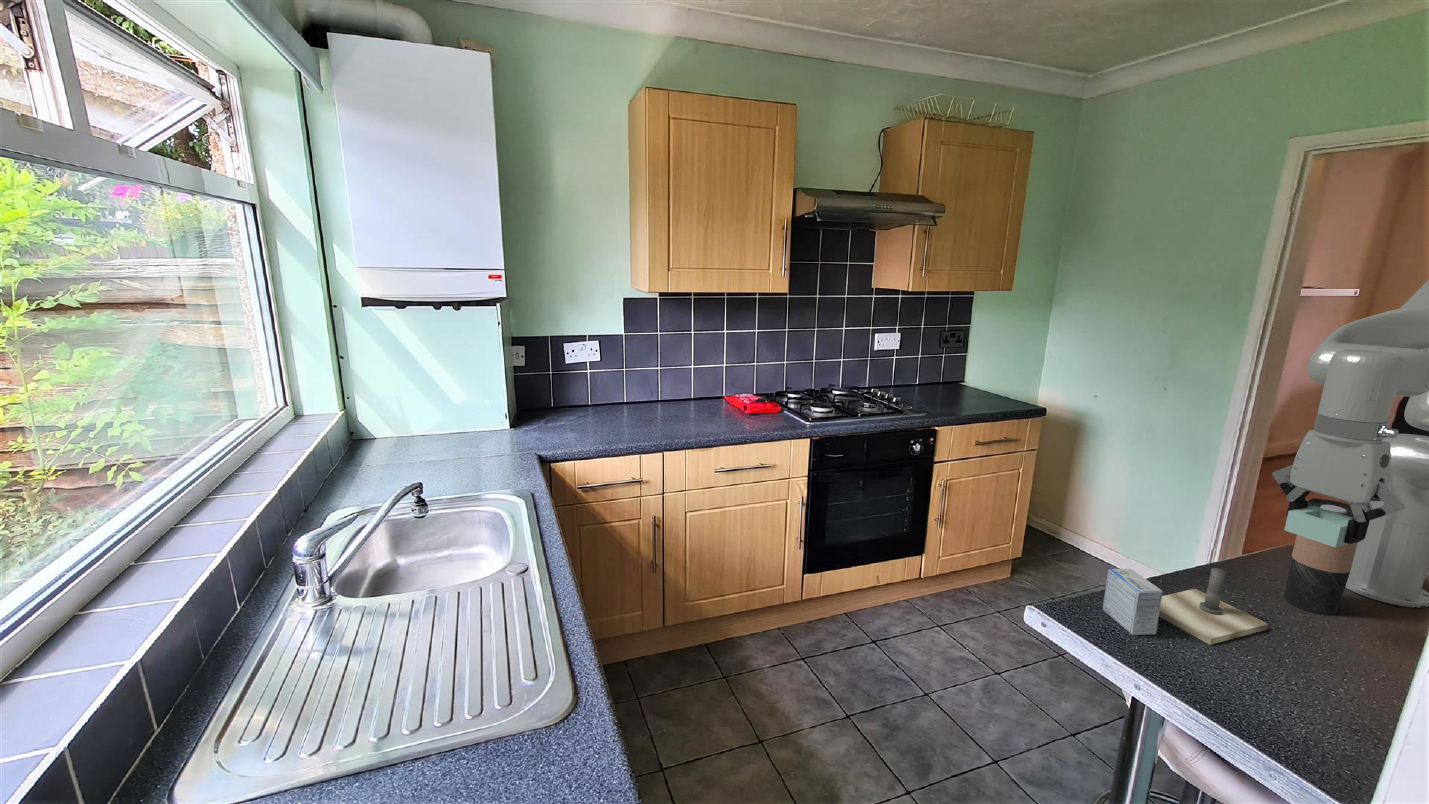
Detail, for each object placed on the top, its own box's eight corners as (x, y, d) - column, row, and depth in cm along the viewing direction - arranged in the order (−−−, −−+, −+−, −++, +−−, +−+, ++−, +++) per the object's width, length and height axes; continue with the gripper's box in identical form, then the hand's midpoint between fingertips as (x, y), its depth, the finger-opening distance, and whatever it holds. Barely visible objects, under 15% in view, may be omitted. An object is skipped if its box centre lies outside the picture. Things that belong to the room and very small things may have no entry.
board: (1194, 593, 112) (1202, 551, 110) (1266, 629, 101) (1277, 582, 99) (1140, 606, 108) (1148, 562, 106) (1209, 644, 97) (1220, 596, 95)
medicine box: (1156, 635, 100) (1164, 591, 98) (1131, 636, 100) (1138, 591, 98) (1124, 609, 108) (1131, 567, 106) (1101, 609, 108) (1107, 568, 106)
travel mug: (1351, 618, 104) (1379, 516, 100) (1301, 613, 106) (1326, 513, 101) (1317, 595, 111) (1341, 499, 107) (1271, 591, 113) (1293, 496, 108)
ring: (1309, 524, 99) (1313, 505, 98) (1360, 541, 93) (1366, 521, 92) (1284, 530, 97) (1288, 510, 96) (1335, 547, 91) (1340, 527, 90)
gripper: (1443, 441, 84) (1410, 553, 88) (1295, 413, 100) (1273, 509, 104) (1413, 446, 81) (1381, 560, 85) (1267, 417, 98) (1245, 514, 102)
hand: (1322, 531), depth 95 cm, fingers closed on ring, 6 cm apart
